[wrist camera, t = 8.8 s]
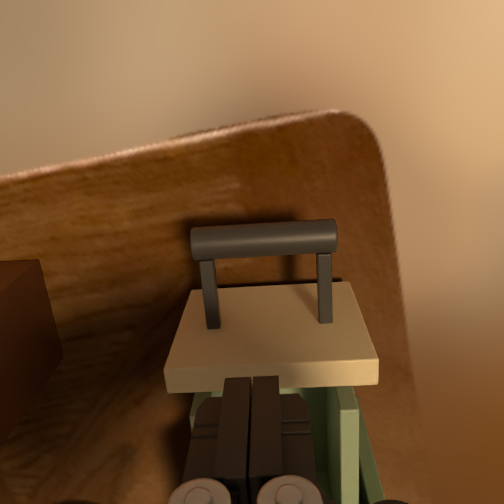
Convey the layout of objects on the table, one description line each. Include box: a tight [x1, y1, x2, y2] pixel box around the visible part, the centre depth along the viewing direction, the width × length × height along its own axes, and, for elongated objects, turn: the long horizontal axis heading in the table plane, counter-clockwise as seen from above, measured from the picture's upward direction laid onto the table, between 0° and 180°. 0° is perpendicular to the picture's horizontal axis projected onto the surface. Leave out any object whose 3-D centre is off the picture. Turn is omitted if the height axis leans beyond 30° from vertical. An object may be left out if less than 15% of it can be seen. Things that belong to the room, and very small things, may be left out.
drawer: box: [163, 219, 379, 504], centre depth 24 cm, size 17×8×7 cm, turn 4°
